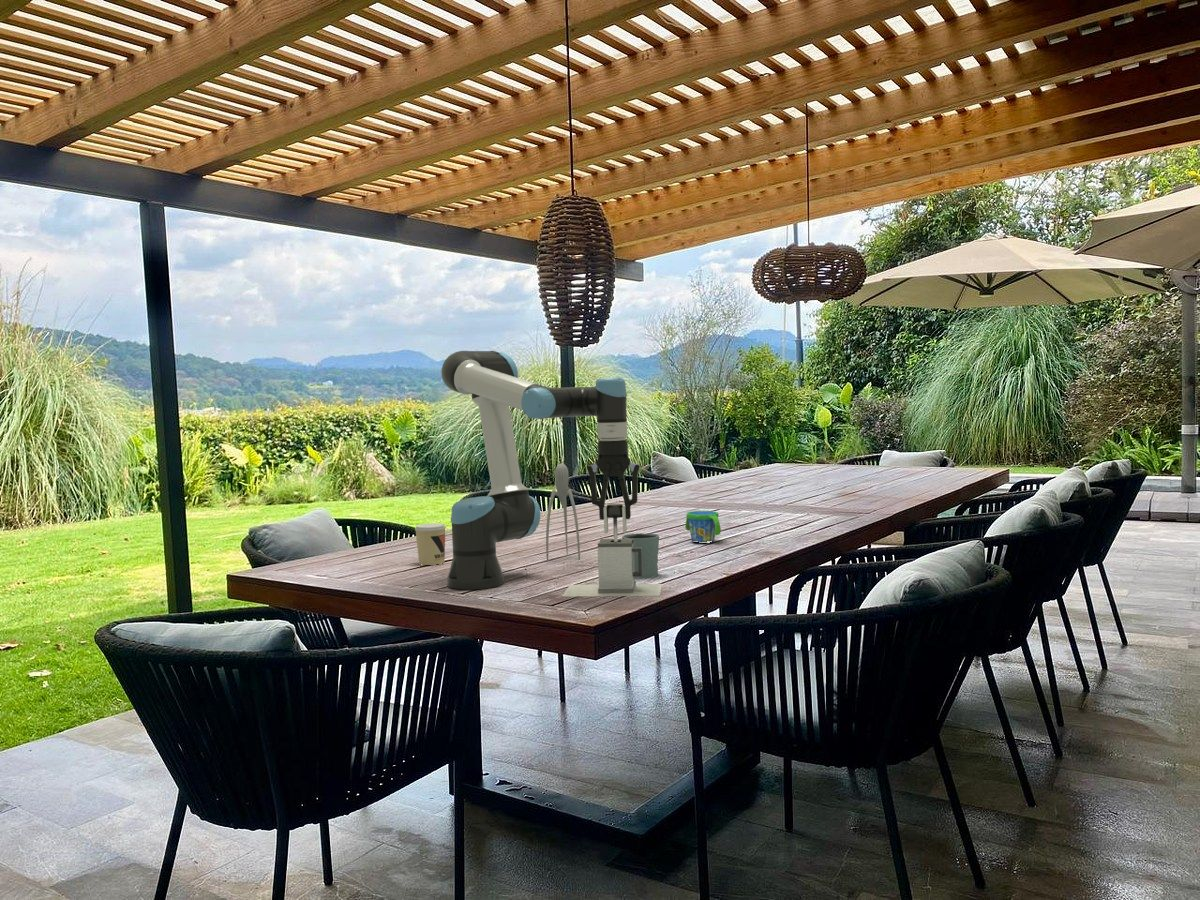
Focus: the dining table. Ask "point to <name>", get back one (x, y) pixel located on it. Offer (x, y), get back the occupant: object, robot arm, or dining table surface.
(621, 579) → the block
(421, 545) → the coffee cup
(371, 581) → the dining table surface
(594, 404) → the robot arm
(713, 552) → the dining table surface
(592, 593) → the plate
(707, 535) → the snack cup
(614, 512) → the plunger
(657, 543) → the green mug
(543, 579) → the dining table surface
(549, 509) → the juicer
